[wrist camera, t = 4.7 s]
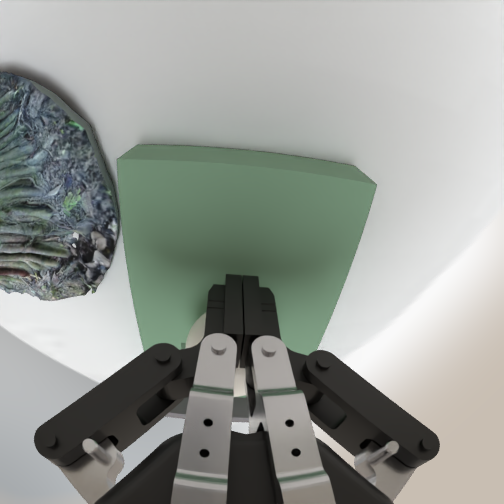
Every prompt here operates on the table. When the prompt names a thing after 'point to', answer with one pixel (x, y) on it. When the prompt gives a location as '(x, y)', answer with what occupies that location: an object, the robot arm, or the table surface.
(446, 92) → the table surface
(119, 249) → the table surface
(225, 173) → the mat
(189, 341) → the ball
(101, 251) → the tree stump
